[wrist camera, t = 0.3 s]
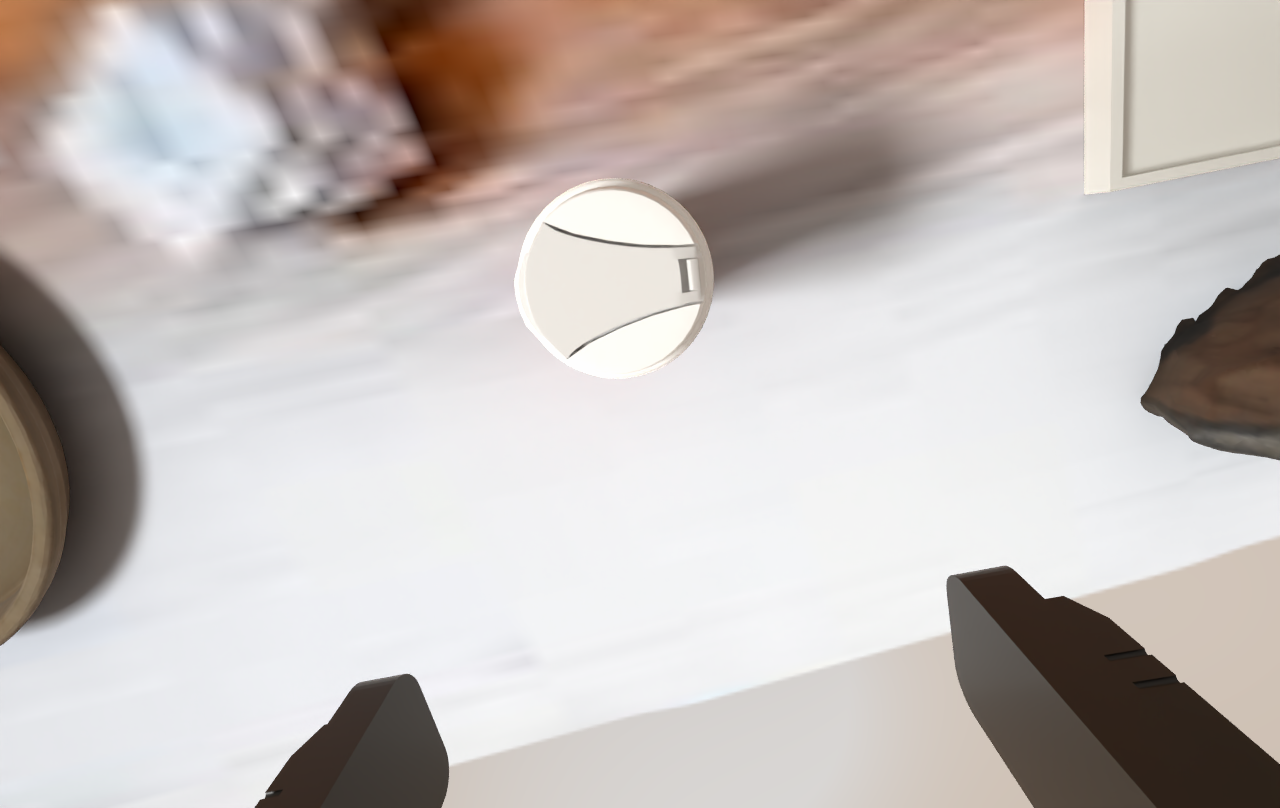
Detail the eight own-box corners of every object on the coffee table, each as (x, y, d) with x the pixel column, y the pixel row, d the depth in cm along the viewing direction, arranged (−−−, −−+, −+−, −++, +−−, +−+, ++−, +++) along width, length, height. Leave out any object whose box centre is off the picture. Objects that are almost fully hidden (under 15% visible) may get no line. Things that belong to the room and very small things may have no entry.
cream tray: (1084, -95, 30) (1114, -118, 28) (1388, -168, 28) (1441, -197, 26) (1084, 194, 33) (1109, 192, 31) (1353, 141, 32) (1397, 134, 30)
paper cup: (688, 190, 34) (705, 159, 20) (702, 322, 36) (726, 373, 22) (555, 210, 34) (487, 191, 21) (576, 338, 36) (526, 397, 23)
